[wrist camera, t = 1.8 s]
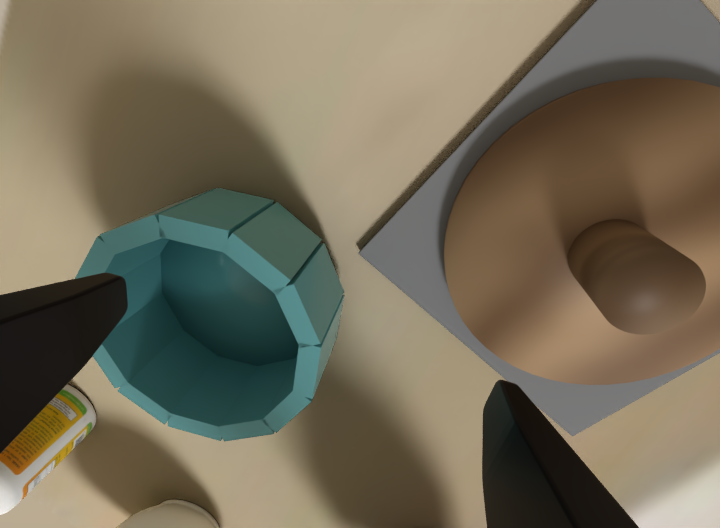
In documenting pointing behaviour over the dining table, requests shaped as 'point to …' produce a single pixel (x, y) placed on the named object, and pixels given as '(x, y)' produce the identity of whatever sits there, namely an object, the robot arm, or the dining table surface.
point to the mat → (538, 87)
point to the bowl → (219, 313)
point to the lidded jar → (171, 516)
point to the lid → (595, 234)
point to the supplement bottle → (44, 445)
